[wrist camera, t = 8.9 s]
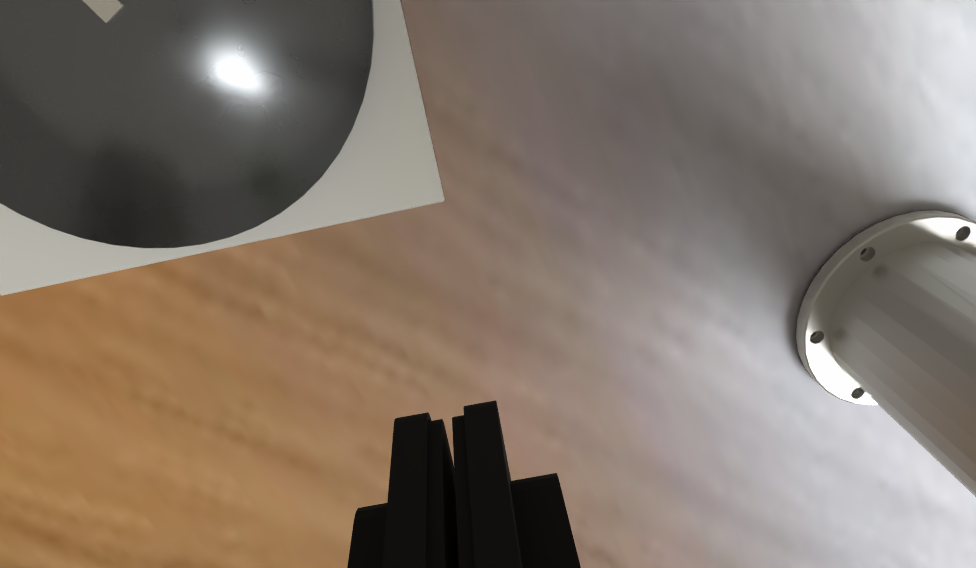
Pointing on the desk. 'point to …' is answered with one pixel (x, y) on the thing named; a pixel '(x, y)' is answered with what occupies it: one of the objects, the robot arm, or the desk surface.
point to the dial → (174, 111)
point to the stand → (331, 200)
